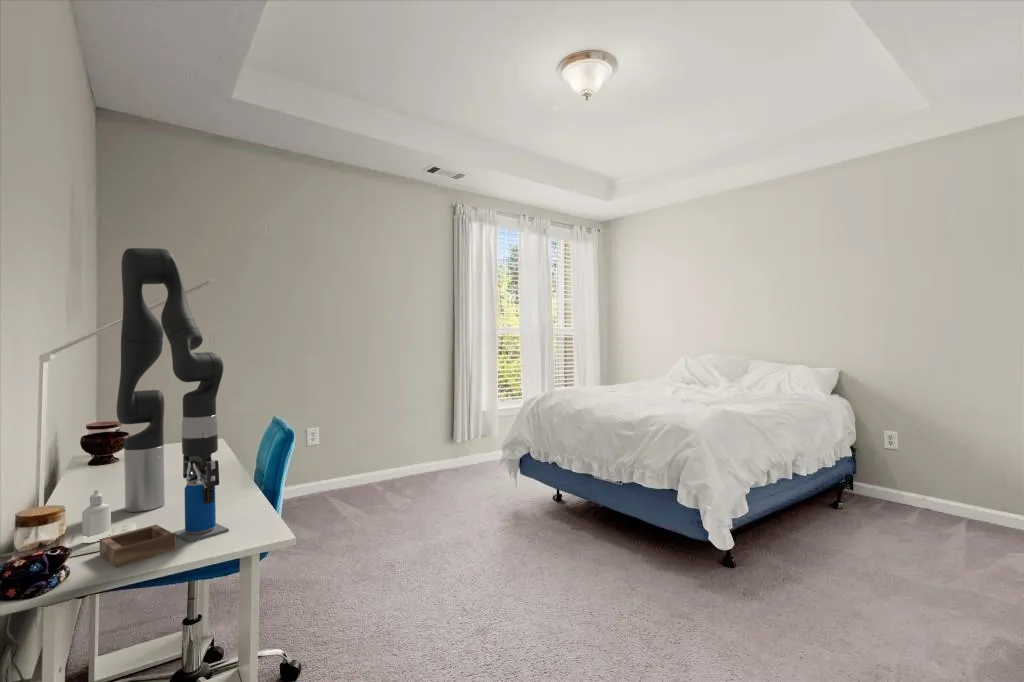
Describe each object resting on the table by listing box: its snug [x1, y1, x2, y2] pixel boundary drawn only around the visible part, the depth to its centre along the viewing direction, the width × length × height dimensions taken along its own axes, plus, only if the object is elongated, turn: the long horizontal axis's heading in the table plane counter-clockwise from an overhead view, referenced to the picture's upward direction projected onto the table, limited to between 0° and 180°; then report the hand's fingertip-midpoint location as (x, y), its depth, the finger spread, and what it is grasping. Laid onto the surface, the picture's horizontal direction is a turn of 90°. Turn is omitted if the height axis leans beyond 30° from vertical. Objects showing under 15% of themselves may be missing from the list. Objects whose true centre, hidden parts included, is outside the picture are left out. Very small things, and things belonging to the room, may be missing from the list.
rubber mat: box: [172, 522, 230, 543], centre depth 128 cm, size 9×9×1 cm
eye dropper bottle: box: [81, 488, 112, 537], centre depth 124 cm, size 4×6×12 cm
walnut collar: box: [99, 524, 177, 568], centre depth 117 cm, size 11×11×4 cm
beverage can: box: [184, 479, 217, 534], centre depth 128 cm, size 6×6×12 cm
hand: (201, 499), depth 128 cm, fingers open, 8 cm apart
